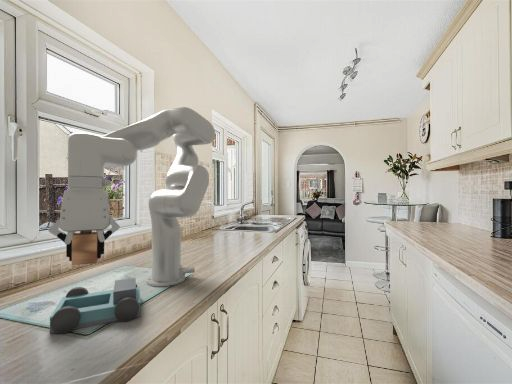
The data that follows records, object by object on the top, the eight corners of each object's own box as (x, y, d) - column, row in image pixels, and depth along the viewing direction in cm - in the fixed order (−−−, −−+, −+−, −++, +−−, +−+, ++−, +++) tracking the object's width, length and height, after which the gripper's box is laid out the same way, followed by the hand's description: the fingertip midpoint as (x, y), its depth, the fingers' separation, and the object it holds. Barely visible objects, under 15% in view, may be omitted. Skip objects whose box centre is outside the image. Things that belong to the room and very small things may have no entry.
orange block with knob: (98, 258, 68) (99, 227, 68) (96, 263, 63) (96, 229, 63) (75, 260, 66) (75, 228, 66) (71, 265, 61) (71, 231, 61)
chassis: (139, 296, 77) (139, 274, 77) (140, 318, 63) (140, 291, 63) (63, 308, 69) (63, 283, 69) (48, 336, 56) (48, 305, 56)
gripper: (125, 185, 72) (124, 252, 72) (47, 184, 64) (47, 258, 64) (124, 184, 65) (124, 258, 65) (38, 183, 58) (37, 266, 57)
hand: (85, 257), depth 65 cm, fingers closed on orange block with knob, 5 cm apart
